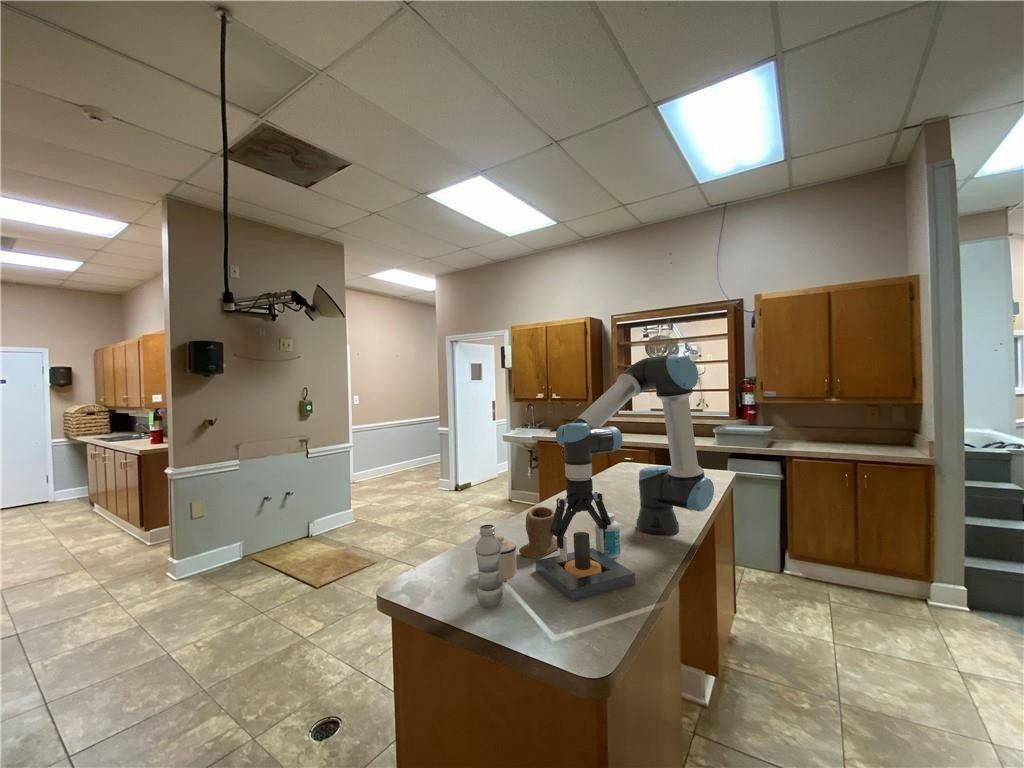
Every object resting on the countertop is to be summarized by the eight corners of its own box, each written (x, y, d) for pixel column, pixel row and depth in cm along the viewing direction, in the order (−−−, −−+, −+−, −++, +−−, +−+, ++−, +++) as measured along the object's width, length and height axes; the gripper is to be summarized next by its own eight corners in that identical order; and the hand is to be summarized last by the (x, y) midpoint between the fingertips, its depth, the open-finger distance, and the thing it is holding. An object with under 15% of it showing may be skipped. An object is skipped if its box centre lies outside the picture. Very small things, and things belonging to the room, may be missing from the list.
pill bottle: (621, 562, 127) (619, 518, 127) (597, 561, 128) (595, 518, 129) (620, 552, 134) (618, 511, 134) (597, 551, 136) (595, 510, 136)
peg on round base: (588, 566, 123) (586, 526, 123) (609, 580, 113) (607, 536, 113) (558, 573, 119) (556, 532, 119) (577, 589, 109) (575, 543, 109)
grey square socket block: (593, 560, 129) (592, 547, 129) (635, 587, 111) (634, 572, 111) (536, 574, 121) (535, 560, 121) (571, 606, 103) (570, 589, 103)
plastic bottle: (477, 599, 108) (473, 523, 108) (502, 597, 108) (499, 521, 109) (477, 613, 101) (473, 531, 102) (504, 610, 102) (500, 530, 102)
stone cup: (541, 565, 127) (539, 517, 127) (514, 555, 136) (512, 510, 136) (571, 550, 138) (569, 505, 138) (544, 542, 146) (542, 500, 146)
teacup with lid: (523, 573, 122) (522, 534, 122) (504, 586, 115) (502, 544, 115) (492, 564, 129) (491, 527, 129) (473, 576, 122) (471, 536, 122)
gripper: (605, 470, 124) (608, 542, 124) (535, 480, 115) (538, 558, 115) (621, 475, 117) (624, 551, 117) (547, 486, 108) (551, 569, 108)
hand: (582, 555), depth 116 cm, fingers open, 11 cm apart
